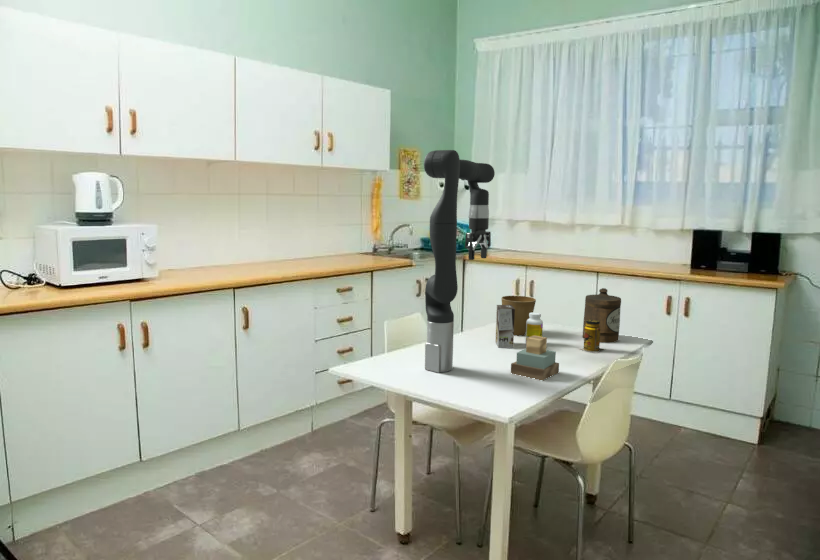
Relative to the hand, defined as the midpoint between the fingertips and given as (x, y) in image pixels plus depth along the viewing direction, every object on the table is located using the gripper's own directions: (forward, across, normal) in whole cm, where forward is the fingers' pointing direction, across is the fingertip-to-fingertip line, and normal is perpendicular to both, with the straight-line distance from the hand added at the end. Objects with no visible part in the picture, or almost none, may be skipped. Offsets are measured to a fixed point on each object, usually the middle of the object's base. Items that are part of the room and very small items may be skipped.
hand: (477, 259), depth 231 cm
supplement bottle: (+36, +24, -13) cm, 45 cm away
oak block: (+29, -12, -33) cm, 45 cm away
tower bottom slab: (+37, -12, -33) cm, 51 cm away
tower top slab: (+33, -12, -33) cm, 48 cm away
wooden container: (+36, +52, -30) cm, 70 cm away
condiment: (+36, +32, -35) cm, 60 cm away
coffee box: (+36, +14, -5) cm, 39 cm away
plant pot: (+36, +35, +1) cm, 50 cm away
